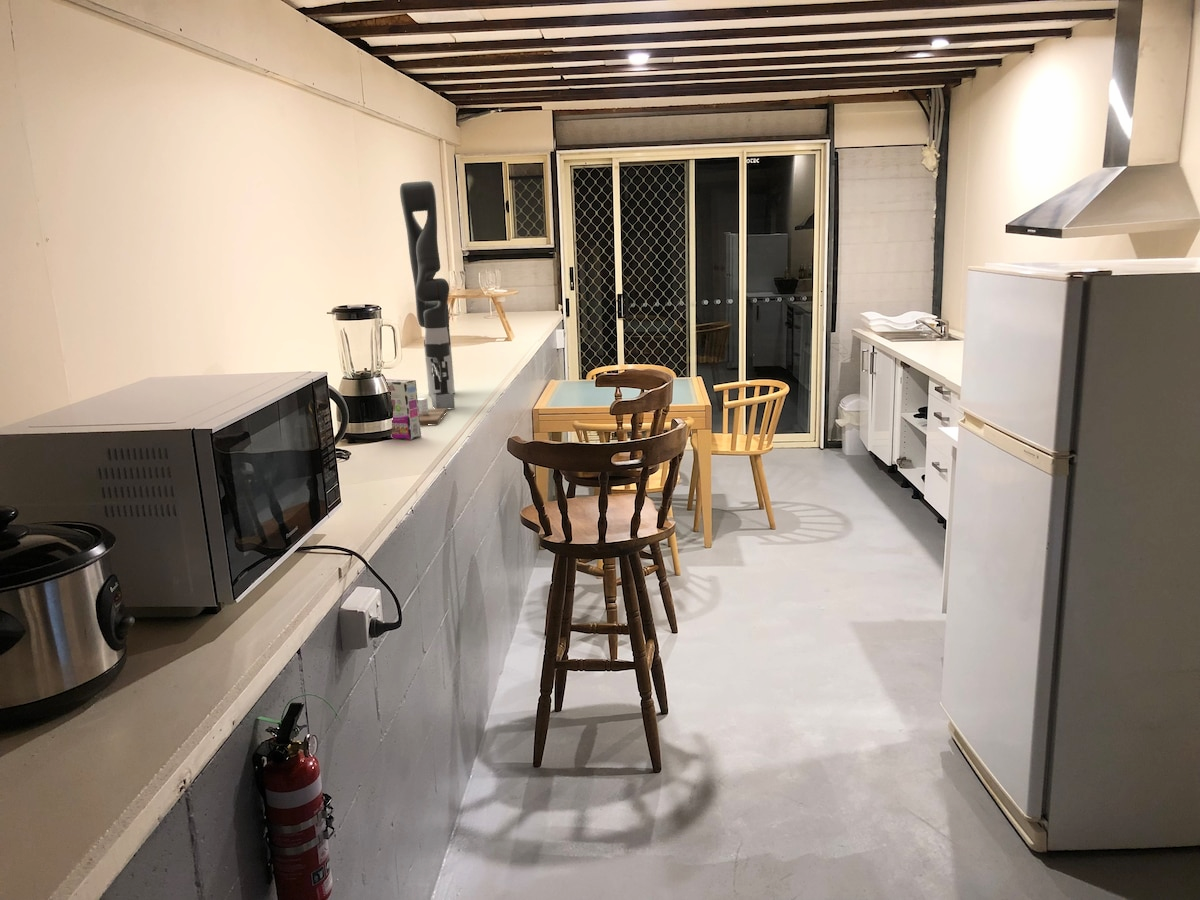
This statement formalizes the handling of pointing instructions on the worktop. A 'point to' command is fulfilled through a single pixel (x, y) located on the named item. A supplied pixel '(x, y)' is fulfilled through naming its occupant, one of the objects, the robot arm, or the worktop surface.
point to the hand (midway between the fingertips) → (441, 391)
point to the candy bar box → (404, 409)
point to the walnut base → (432, 416)
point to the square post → (423, 406)
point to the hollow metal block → (443, 400)
